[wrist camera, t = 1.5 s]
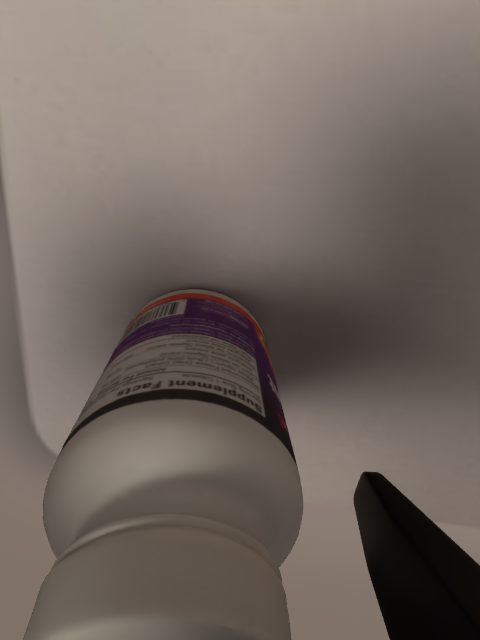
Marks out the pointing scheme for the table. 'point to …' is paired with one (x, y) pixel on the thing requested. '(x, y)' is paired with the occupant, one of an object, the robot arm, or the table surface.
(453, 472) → the table surface
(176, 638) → the pill bottle
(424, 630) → the robot arm
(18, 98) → the table surface
